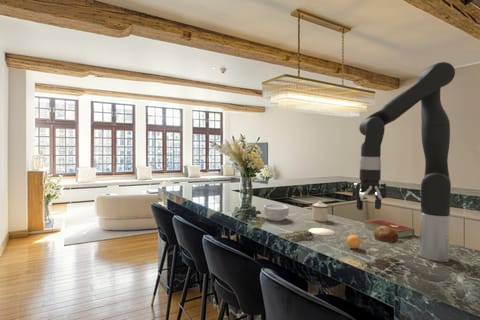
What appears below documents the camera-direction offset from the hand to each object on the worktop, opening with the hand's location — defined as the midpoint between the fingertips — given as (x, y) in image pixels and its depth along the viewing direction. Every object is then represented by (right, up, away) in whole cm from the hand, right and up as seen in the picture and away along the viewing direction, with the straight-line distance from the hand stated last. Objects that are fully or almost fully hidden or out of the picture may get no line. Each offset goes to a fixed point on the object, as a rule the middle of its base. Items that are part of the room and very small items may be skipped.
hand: (368, 209), depth 111 cm
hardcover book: (+27, -19, +37) cm, 49 cm away
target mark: (-9, -17, +33) cm, 39 cm away
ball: (-3, -15, +8) cm, 18 cm away
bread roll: (+19, -18, +23) cm, 35 cm away
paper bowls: (-29, -17, +60) cm, 68 cm away
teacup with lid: (-3, -17, +60) cm, 63 cm away
